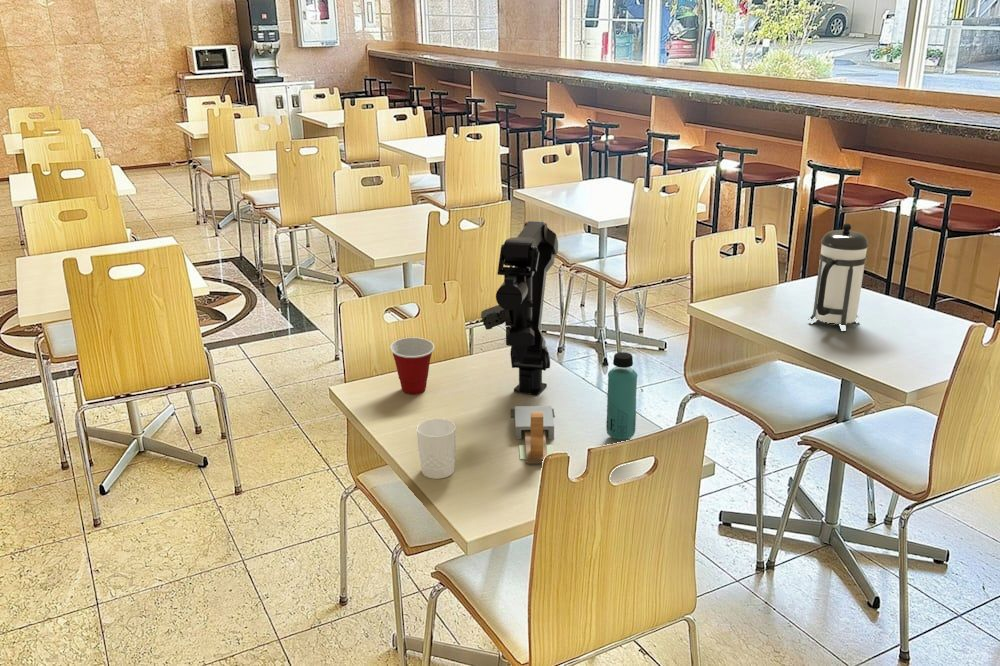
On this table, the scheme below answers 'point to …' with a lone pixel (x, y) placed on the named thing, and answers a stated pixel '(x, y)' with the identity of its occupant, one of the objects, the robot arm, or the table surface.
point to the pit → (514, 413)
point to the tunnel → (525, 419)
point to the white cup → (437, 447)
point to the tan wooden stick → (535, 439)
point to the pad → (523, 451)
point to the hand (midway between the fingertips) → (519, 360)
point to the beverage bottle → (621, 397)
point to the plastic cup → (412, 362)
